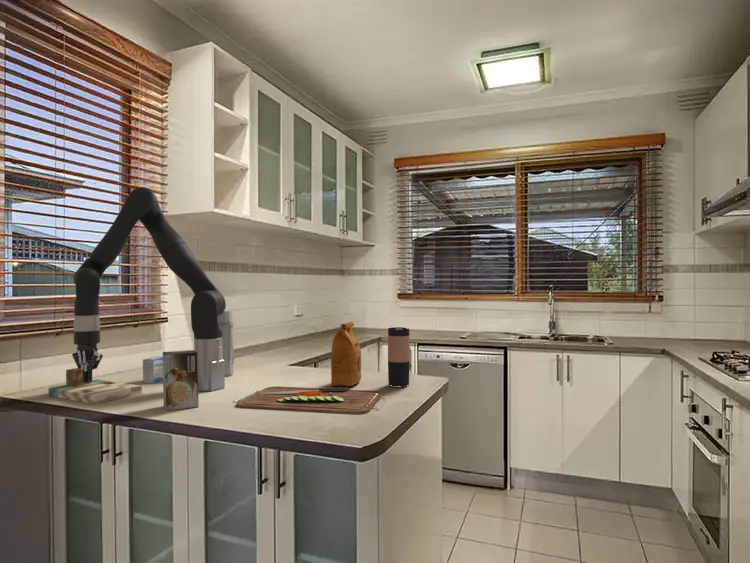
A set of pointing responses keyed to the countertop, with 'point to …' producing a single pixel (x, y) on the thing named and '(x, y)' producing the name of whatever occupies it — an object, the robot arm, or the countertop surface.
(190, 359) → the coffee box
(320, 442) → the countertop surface
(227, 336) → the water bottle
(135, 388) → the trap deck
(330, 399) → the chopping board
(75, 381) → the walnut block
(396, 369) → the travel mug
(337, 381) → the coffee package
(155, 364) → the medicine box
